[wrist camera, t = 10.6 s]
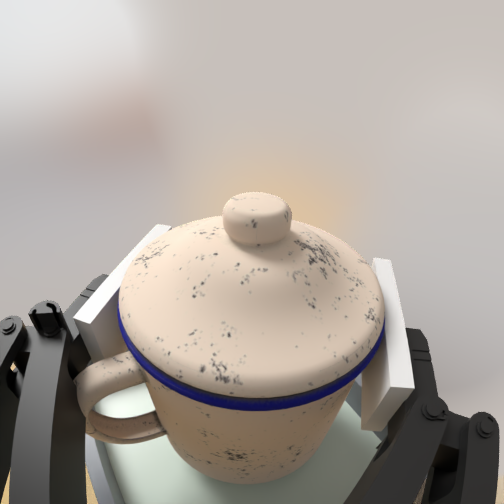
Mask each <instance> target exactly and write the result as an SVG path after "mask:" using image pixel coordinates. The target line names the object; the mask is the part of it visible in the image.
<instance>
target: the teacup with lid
mask: <svg viewBox="0 0 504 504" xmlns="http://www.w3.org/2000/svg"><path fill="white" fill-rule="evenodd" d="M117 316H118V323H119V328H120V331H121V334H122V337H123V339H124V341H125V344H126V346H127V348H128V349H129V351H128V352H125V353H121V354H118V355H115V356H112V357H109V358H106V359H103V360H101V361H98V362H96V363H94V364H92V365H90V366H88V367H87V368H85V369H84V370H83V371H81V372H80V373H79V374H78V375H77V376H76V377H75V379H74V380H73V382H74V384H75V385H76V387H77V399H78V403H79V406H80V408H81V411H82V413H83V414H84V416H85V417H86V434H87V435H89V436H91V437H93V438H95V439H97V440H100V441H103V442H107V443H113V444H135V443H141V442H145V441H149V440H152V439H155V438H158V437H161V436H164V435H166V436H167V438H168V440H169V442H170V444H171V445H172V447H173V449H174V450H175V451H176V452H177V454H178V455H179V456H180V457H181V458H182V459H183V460H184V461H185V462H186V463H187V464H189V465H190V466H191V467H192V468H194V469H196V470H197V471H199V472H200V473H202V474H204V475H206V476H209V477H211V478H214V479H216V480H220V481H223V482H228V483H234V484H259V483H265V482H270V481H273V480H276V479H279V478H282V477H284V476H286V475H288V474H290V473H292V472H294V471H295V470H297V469H298V468H300V467H301V466H302V465H304V464H305V463H306V462H307V461H308V460H309V459H310V458H311V457H312V456H313V455H314V454H315V452H316V451H317V449H318V448H319V446H320V445H321V443H322V441H323V439H324V438H325V436H326V434H327V433H328V431H329V429H330V427H331V425H332V424H333V422H334V420H335V418H336V416H337V414H338V413H339V411H340V409H341V407H342V405H343V403H344V401H345V399H346V397H347V395H348V393H349V391H350V389H351V387H352V385H353V383H354V381H355V379H356V377H357V376H358V375H359V374H360V373H361V372H362V371H363V370H364V369H365V368H366V367H367V365H368V364H369V363H370V361H371V360H372V359H373V357H374V355H375V354H376V352H377V350H378V348H379V346H380V343H381V340H382V337H383V333H384V328H385V304H384V297H383V293H382V289H381V286H380V284H379V281H378V279H377V277H376V275H375V273H374V272H373V270H372V269H371V267H370V266H369V264H368V263H367V262H366V261H365V260H364V258H363V257H362V256H361V255H360V254H359V253H358V252H357V251H355V250H354V249H353V248H352V247H350V246H349V245H348V244H346V243H345V242H343V241H342V240H340V239H339V238H337V237H335V236H334V235H332V234H330V233H328V232H326V231H323V230H321V229H319V228H317V227H314V226H311V225H308V224H305V223H302V222H298V221H294V220H292V212H291V209H290V208H289V206H288V204H287V203H286V202H285V201H284V200H283V199H281V198H279V197H277V196H275V195H272V194H268V193H260V192H248V193H243V194H239V195H236V196H234V197H232V198H231V199H230V200H229V201H228V202H227V203H226V205H225V206H224V209H223V216H216V217H210V218H205V219H200V220H196V221H193V222H189V223H187V224H184V225H181V226H178V227H176V228H174V229H172V230H169V231H167V232H166V233H164V234H162V235H160V236H159V237H157V238H156V239H154V240H153V241H151V242H150V243H149V244H148V245H146V246H145V247H144V248H143V249H142V250H141V251H140V252H139V253H138V254H137V256H136V257H135V258H134V259H133V260H132V262H131V264H130V265H129V267H128V269H127V271H126V273H125V275H124V277H123V280H122V283H121V287H120V292H119V298H118V305H117ZM144 382H145V383H146V386H147V389H148V391H149V394H150V397H151V399H152V402H153V404H154V407H155V410H154V411H151V412H148V413H145V414H142V415H138V416H134V417H128V418H114V417H109V416H106V415H103V414H100V413H98V412H96V411H95V410H93V409H92V408H93V407H94V405H95V404H96V403H98V402H99V401H100V400H101V399H103V398H105V397H106V396H108V395H111V394H113V393H115V392H118V391H121V390H123V389H126V388H129V387H132V386H135V385H139V384H142V383H144Z"/></svg>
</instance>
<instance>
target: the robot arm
mask: <svg viewBox="0 0 504 504" xmlns="http://www.w3.org/2000/svg"><path fill="white" fill-rule="evenodd" d="M169 230H172V226H167V225H160V224H157V225H156V226H155V227H154V228H153V229H152V230H151V231H150V232H149V233H148V234H147V235H146V236H145V237H144V238H143V239H142V240H141V241H140V243H139V244H138V245H137V246H136V247H135V248H134V249H133V250H132V251H131V252H130V253H129V255H127V257H126V258H125V259H124V260H123V261H122V262H121V263H120V264H119V265H118V266H117V267H116V268H115V270H114V271H113V272H112V273H111V274H110V275H105V274H102V275H101V276H99V277H97V278H96V279H94V280H93V281H92V282H91V283H90V284H89V285H88V286H87V288H86V290H84V291H83V292H82V293H81V294H80V296H78V298H77V299H76V300H75V301H74V302H73V303H72V304H71V305H70V307H69V308H68V309H67V310H66V311H65V313H62V311H61V308H60V306H59V305H58V303H56V302H54V301H48V300H47V301H43V302H40V303H38V304H36V305H35V306H34V307H33V308H32V309H31V310H30V312H29V313H28V314H29V316H30V319H31V321H32V323H33V324H34V327H32V326H25V325H24V323H23V321H22V320H21V318H20V317H18V316H9V317H6V318H5V319H3V320H2V321H1V322H0V504H1V500H2V496H3V492H4V488H5V485H6V481H7V478H8V474H9V471H10V486H9V504H87V496H86V472H85V433H86V417H85V416H84V414H83V413H82V411H81V408H80V406H79V403H78V399H77V387H76V385H75V384H74V382H73V380H74V379H75V377H76V376H77V375H78V374H79V373H80V372H81V371H83V370H84V369H85V368H87V365H88V363H89V362H90V360H92V362H93V364H94V363H96V362H98V361H101V360H103V359H106V358H109V357H112V356H115V355H118V354H121V353H125V352H126V351H127V349H128V348H127V346H126V344H125V341H124V339H123V337H122V334H121V331H120V328H119V323H118V316H117V305H118V298H119V292H120V287H121V283H122V280H123V277H124V275H125V273H126V271H127V269H128V267H129V265H130V264H131V262H132V260H133V259H134V258H135V257H136V256H137V254H138V253H139V252H140V251H141V250H142V249H143V248H144V247H145V246H146V245H148V244H149V243H150V242H151V241H153V240H154V239H156V238H157V237H159V236H160V235H162V234H164V233H166V232H167V231H169ZM371 269H372V270H373V272H374V273H375V275H376V277H377V279H378V281H379V284H380V286H381V289H382V293H383V297H384V304H385V328H384V333H383V337H382V340H381V343H380V346H379V348H378V350H377V352H376V354H375V355H374V357H373V359H372V360H371V361H370V363H369V364H368V365H367V367H366V368H365V369H364V370H363V371H362V372H361V377H362V397H361V430H365V431H382V430H383V429H384V428H385V426H386V425H387V424H388V435H387V436H386V437H385V438H384V439H383V441H382V442H381V443H380V444H379V445H378V446H377V447H376V449H378V450H377V452H376V454H375V455H374V457H373V459H372V460H371V462H370V464H369V465H368V467H367V468H366V470H365V472H364V473H363V475H362V476H361V478H360V480H359V481H358V483H357V484H356V486H355V487H354V489H353V490H352V492H351V493H350V495H349V496H348V497H347V499H346V500H345V502H344V503H343V504H413V502H414V500H415V498H416V496H417V494H418V492H419V490H420V488H421V486H422V484H423V482H424V480H425V478H426V475H427V479H426V484H425V489H424V493H423V498H422V502H421V504H495V500H496V492H497V481H498V467H499V427H498V423H497V421H496V420H495V418H494V417H493V416H491V415H490V414H488V413H486V412H478V413H476V414H474V415H473V416H472V417H471V418H467V417H464V416H461V415H458V414H455V413H453V412H451V411H449V410H448V406H447V405H446V403H445V402H444V401H443V400H442V399H441V398H439V397H438V393H437V388H436V381H435V377H434V371H433V366H432V362H431V356H430V353H429V347H428V342H427V339H426V338H425V336H424V335H423V333H422V332H421V330H419V329H411V328H405V324H404V319H403V314H402V309H401V305H400V300H399V295H398V290H397V286H396V281H395V277H394V273H393V269H392V265H391V261H390V260H386V259H380V258H374V259H373V262H372V266H371ZM12 363H14V364H15V366H16V367H15V369H14V370H13V371H12V370H11V369H10V367H11V365H12ZM10 467H11V469H10ZM427 473H428V474H427Z"/></svg>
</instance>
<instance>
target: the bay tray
mask: <svg viewBox="0 0 504 504" xmlns="http://www.w3.org/2000/svg"><path fill="white" fill-rule="evenodd" d="M128 351H129V349H127V351H126V352H128ZM92 364H93V362H92V360H90V362H89V363H88V365H87V367H88V366H90V365H92ZM361 397H362V377H361V373H360V374H359V375H358V376H357V377H356V379H355V381H354V383H353V385H352V387H351V389H350V391H349V393H348V395H347V397H346V399H345V401H344V403H343V405H342V407H341V409H340V411H339V413H338V414H337V416H336V418H335V420H334V422H333V424H332V425H331V427H330V429H329V431H328V433H327V434H326V436H325V438H324V439H323V441H322V443H321V445H320V446H319V448H318V449H317V451H316V452H315V454H314V455H313V456H312V457H311V458H310V459H309V460H308V461H307V462H306V463H305V464H304V465H302V466H301V467H300V468H298V469H297V470H295V471H294V472H292V473H290V474H288V475H286V476H284V477H282V478H279V479H276V480H273V481H270V482H265V483H259V484H234V483H228V482H223V481H220V480H216V479H214V478H211V477H209V476H206V475H204V474H202V473H200V472H199V471H197V470H196V469H194V468H192V467H191V466H190V465H189V464H187V463H186V462H185V461H184V460H183V459H182V458H181V457H180V456H179V455H178V454H177V452H176V451H175V450H174V449H173V447H172V445H171V444H170V442H169V440H168V438H167V436H166V435H164V436H161V437H158V438H155V439H152V440H149V441H145V442H141V443H135V444H113V443H107V442H103V441H100V440H97V439H95V438H93V437H91V436H89V435H87V434H86V433H85V462H86V466H87V469H88V473H89V476H90V479H91V483H92V486H93V489H94V492H95V495H96V498H97V501H98V504H343V503H344V502H345V500H346V499H347V497H348V496H349V495H350V493H351V492H352V490H353V489H354V487H355V486H356V484H357V483H358V481H359V480H360V478H361V476H362V475H363V473H364V472H365V470H366V468H367V467H368V465H369V464H370V462H371V460H372V459H373V457H374V455H375V454H376V452H377V450H378V449H376V447H377V446H378V445H379V444H380V443H381V442H382V441H383V439H384V438H385V437H386V436H387V435H388V424H387V425H386V426H385V428H384V429H383V430H382V431H365V430H361ZM92 409H93V410H95V411H96V412H98V413H100V414H103V415H106V416H109V417H114V418H128V417H134V416H138V415H142V414H145V413H148V412H151V411H154V410H155V407H154V404H153V402H152V399H151V397H150V394H149V391H148V389H147V386H146V383H145V382H144V383H142V384H139V385H135V386H132V387H129V388H126V389H123V390H121V391H118V392H115V393H113V394H111V395H108V396H106V397H105V398H103V399H101V400H100V401H99V402H98V403H96V404H95V405H94V407H93V408H92ZM427 474H428V473H427ZM426 478H427V475H426ZM426 478H425V479H426Z"/></svg>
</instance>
